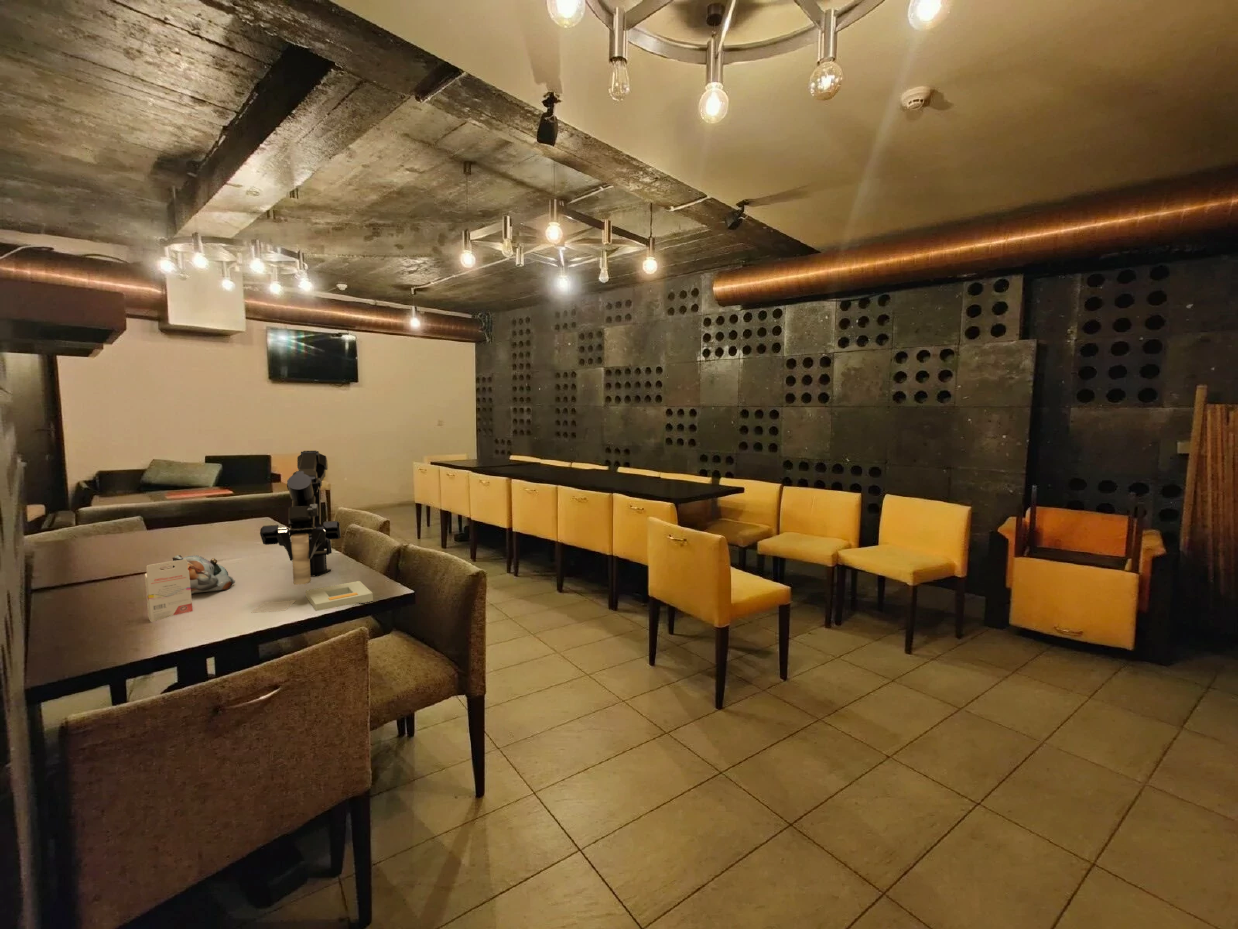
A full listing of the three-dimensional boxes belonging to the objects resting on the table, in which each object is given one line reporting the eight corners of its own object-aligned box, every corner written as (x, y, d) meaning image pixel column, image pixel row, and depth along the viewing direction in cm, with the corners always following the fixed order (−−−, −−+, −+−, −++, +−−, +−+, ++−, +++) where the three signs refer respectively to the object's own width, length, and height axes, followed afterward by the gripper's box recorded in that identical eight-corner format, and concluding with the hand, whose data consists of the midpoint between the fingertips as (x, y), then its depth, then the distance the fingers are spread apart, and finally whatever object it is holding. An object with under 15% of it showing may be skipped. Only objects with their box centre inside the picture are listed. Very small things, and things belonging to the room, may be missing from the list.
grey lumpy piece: (244, 586, 162) (229, 552, 154) (202, 612, 153) (184, 578, 145) (213, 566, 167) (197, 533, 159) (171, 591, 158) (152, 557, 150)
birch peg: (299, 579, 147) (296, 533, 146) (313, 580, 147) (311, 533, 146) (290, 584, 143) (287, 536, 142) (305, 584, 143) (302, 536, 142)
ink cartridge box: (189, 609, 143) (185, 555, 142) (193, 614, 140) (189, 558, 138) (147, 618, 137) (142, 561, 136) (149, 623, 134) (145, 565, 132)
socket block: (306, 599, 151) (305, 589, 151) (359, 589, 160) (359, 580, 160) (316, 613, 140) (315, 603, 140) (373, 602, 149) (372, 592, 149)
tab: (264, 605, 147) (264, 602, 146) (296, 602, 148) (296, 600, 148) (251, 615, 139) (250, 612, 139) (285, 613, 141) (285, 610, 140)
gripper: (259, 496, 143) (253, 546, 134) (338, 492, 150) (337, 539, 141) (266, 519, 150) (261, 568, 142) (341, 515, 158) (340, 561, 149)
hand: (300, 559), depth 143 cm, fingers closed on birch peg, 4 cm apart
